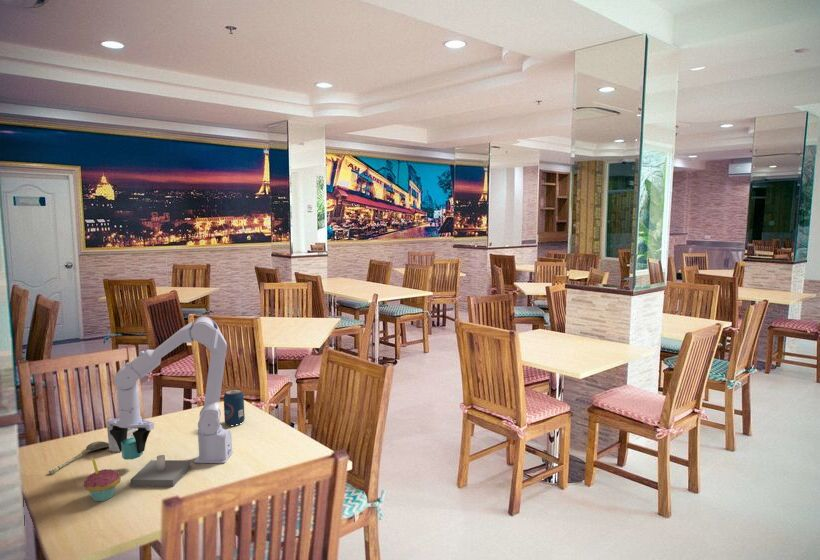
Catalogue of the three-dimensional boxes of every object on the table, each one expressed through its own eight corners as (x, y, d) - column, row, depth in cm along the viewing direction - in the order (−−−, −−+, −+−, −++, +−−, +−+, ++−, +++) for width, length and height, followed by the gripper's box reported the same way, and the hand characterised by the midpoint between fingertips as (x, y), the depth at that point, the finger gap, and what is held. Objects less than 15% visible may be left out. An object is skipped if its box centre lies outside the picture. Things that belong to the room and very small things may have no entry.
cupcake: (83, 507, 141) (79, 464, 140) (87, 492, 149) (84, 450, 147) (120, 500, 145) (117, 457, 143) (123, 486, 152) (120, 445, 151)
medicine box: (120, 452, 174) (118, 426, 173) (108, 451, 175) (106, 425, 174) (137, 442, 181) (136, 417, 180) (126, 441, 182) (124, 416, 181)
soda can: (220, 424, 196) (219, 392, 195) (235, 418, 202) (234, 387, 201) (233, 428, 193) (232, 395, 191) (248, 421, 199) (247, 390, 197)
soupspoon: (116, 447, 180) (99, 446, 181) (115, 437, 180) (99, 437, 181) (59, 476, 158) (41, 475, 160) (58, 465, 158) (40, 464, 160)
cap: (145, 451, 165) (144, 437, 165) (136, 459, 160) (135, 444, 159) (128, 451, 165) (127, 437, 165) (119, 459, 160) (118, 444, 159)
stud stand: (191, 466, 164) (189, 447, 163) (173, 486, 152) (172, 466, 151) (151, 466, 164) (150, 447, 163) (130, 486, 152) (129, 466, 151)
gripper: (159, 404, 163) (162, 447, 165) (117, 400, 166) (121, 443, 168) (143, 412, 156) (146, 457, 158) (100, 409, 159) (103, 453, 161)
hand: (132, 451), depth 162 cm, fingers closed on cap, 5 cm apart
